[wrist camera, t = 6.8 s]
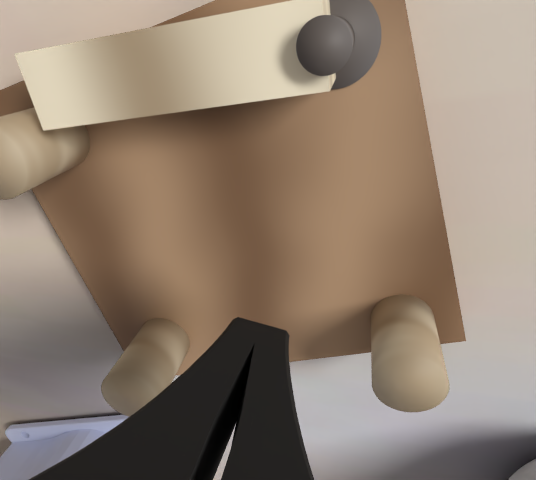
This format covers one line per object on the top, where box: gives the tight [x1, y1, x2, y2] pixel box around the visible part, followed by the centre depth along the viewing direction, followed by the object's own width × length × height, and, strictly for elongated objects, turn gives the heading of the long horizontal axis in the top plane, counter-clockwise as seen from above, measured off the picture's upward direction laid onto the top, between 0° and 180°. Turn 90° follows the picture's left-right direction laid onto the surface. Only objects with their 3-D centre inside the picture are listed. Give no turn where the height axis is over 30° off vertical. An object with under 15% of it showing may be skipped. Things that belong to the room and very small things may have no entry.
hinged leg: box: [15, 0, 355, 131], centre depth 11 cm, size 9×2×3 cm, turn 99°
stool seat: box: [0, 0, 466, 417], centre depth 14 cm, size 14×13×4 cm
